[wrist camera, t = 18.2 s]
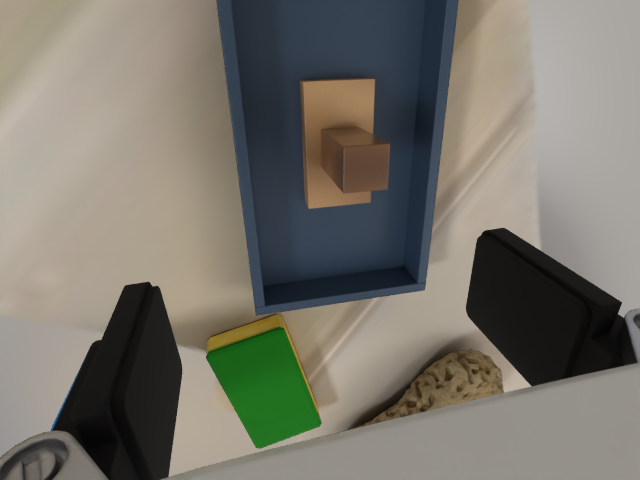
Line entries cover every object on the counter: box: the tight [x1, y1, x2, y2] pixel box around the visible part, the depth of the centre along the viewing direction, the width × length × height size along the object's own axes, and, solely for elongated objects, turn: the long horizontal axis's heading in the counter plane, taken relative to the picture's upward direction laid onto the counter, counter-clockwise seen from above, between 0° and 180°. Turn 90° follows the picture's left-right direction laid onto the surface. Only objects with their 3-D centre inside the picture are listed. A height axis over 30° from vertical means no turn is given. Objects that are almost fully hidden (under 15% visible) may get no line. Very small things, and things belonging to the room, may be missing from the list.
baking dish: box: [216, 0, 458, 315], centre depth 27 cm, size 26×15×4 cm, turn 1°
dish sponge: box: [206, 314, 321, 448], centre depth 37 cm, size 7×14×2 cm, turn 15°
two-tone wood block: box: [300, 78, 390, 209], centre depth 25 cm, size 9×5×8 cm, turn 1°
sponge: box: [354, 349, 504, 429], centre depth 41 cm, size 13×8×20 cm
